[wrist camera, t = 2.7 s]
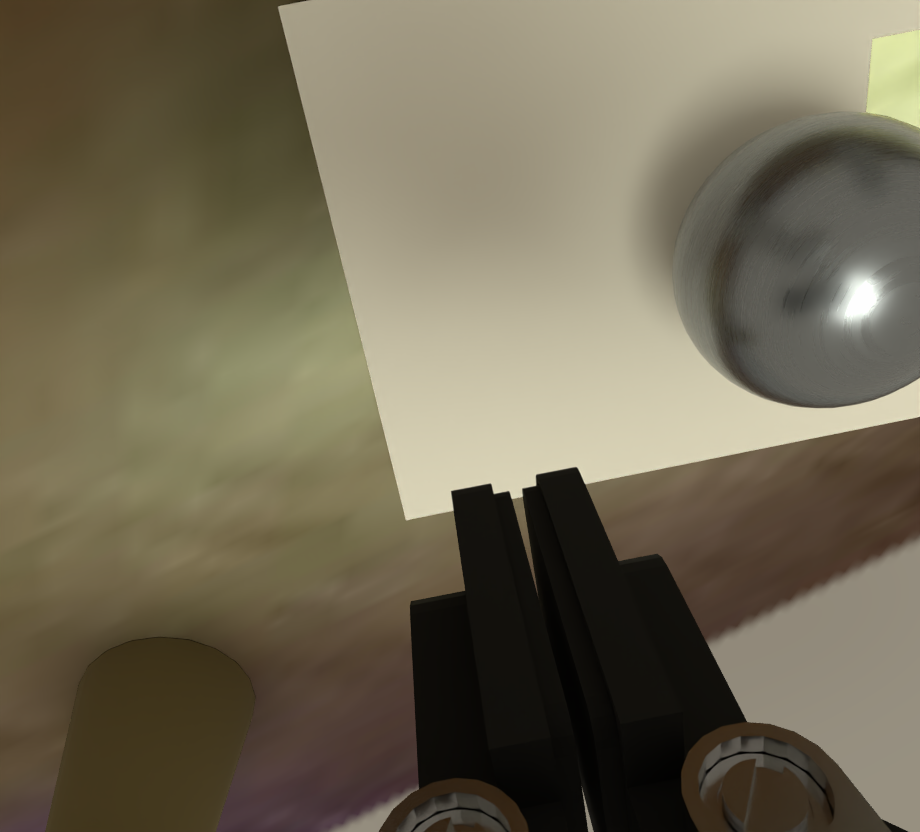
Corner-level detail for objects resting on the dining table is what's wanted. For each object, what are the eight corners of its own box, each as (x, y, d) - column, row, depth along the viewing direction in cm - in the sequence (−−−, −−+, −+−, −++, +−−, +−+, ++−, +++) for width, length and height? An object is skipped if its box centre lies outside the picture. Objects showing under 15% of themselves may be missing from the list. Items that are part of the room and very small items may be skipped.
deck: (288, 4, 18) (277, 6, 16) (1220, -174, 18) (1336, -196, 16) (402, 472, 24) (406, 519, 22) (1090, 334, 24) (1161, 368, 22)
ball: (629, 122, 17) (744, 178, 12) (890, 70, 17) (1115, 106, 12) (642, 361, 20) (739, 490, 15) (865, 316, 20) (1039, 429, 15)
